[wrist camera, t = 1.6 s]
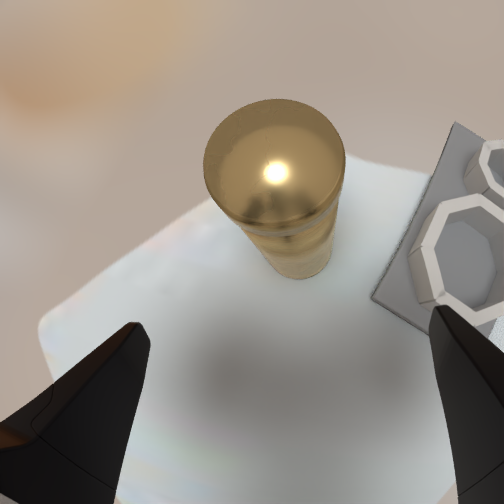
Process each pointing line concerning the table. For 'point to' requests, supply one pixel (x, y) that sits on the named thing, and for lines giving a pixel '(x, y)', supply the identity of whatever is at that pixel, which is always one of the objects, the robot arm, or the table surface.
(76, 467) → the robot arm
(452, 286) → the manifold plate
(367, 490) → the table surface
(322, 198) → the gold metal cylinder
